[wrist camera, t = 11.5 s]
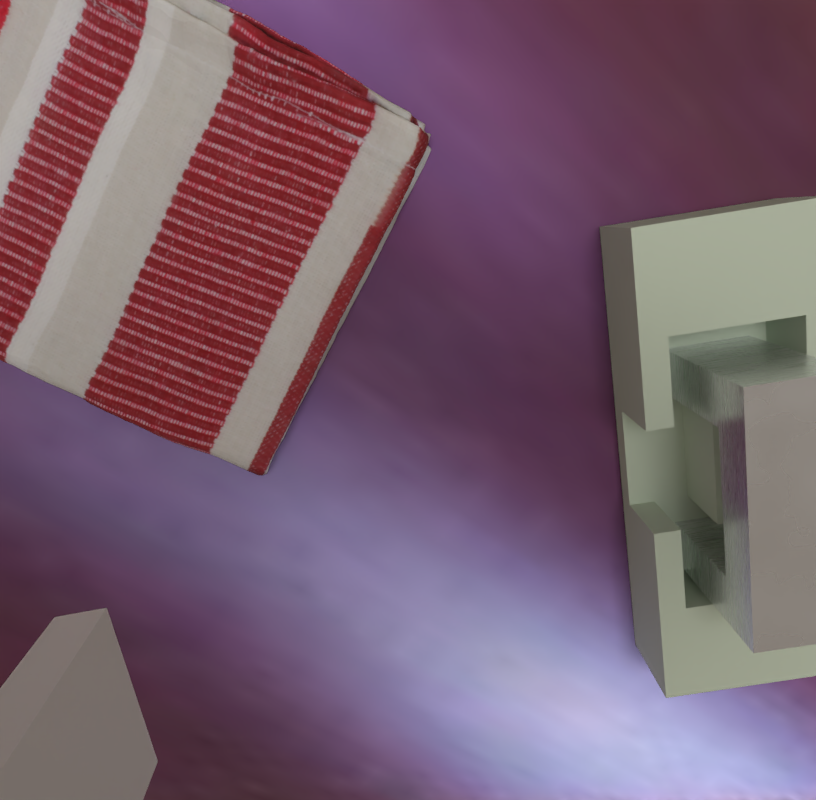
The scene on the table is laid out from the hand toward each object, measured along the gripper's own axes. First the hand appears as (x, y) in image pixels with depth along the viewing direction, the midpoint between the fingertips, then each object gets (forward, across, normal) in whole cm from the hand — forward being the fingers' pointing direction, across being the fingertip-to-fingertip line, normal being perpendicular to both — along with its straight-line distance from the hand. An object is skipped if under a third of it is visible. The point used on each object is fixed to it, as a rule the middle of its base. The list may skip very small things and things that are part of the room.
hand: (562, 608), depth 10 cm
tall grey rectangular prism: (+19, +11, -7) cm, 23 cm away
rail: (+20, +11, -6) cm, 24 cm away
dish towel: (+22, -13, +9) cm, 27 cm away
